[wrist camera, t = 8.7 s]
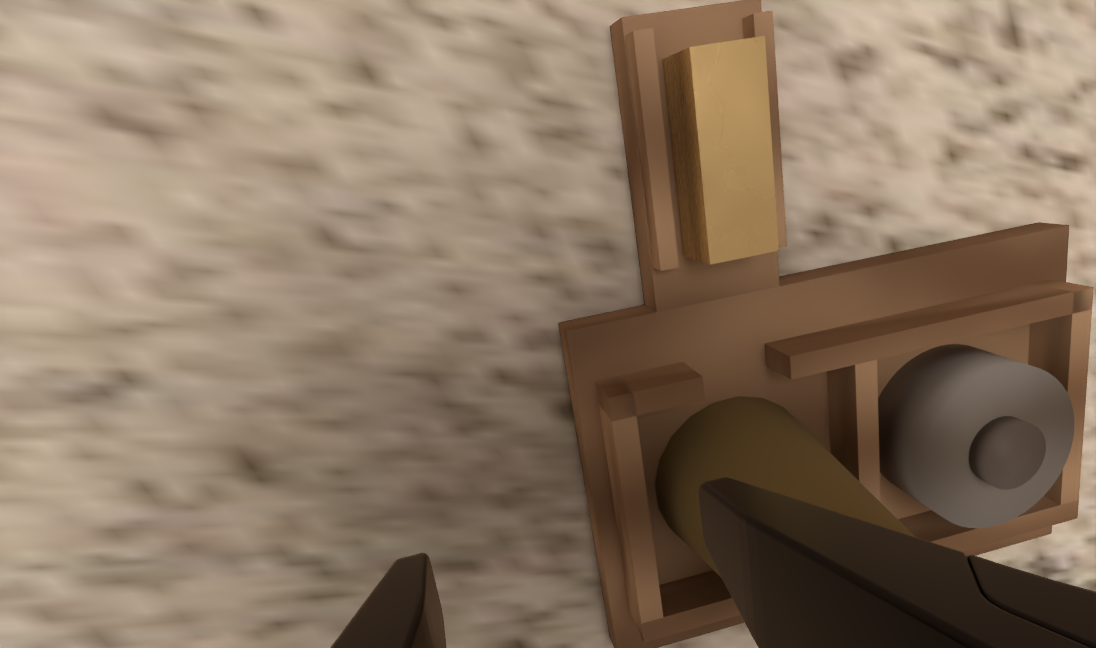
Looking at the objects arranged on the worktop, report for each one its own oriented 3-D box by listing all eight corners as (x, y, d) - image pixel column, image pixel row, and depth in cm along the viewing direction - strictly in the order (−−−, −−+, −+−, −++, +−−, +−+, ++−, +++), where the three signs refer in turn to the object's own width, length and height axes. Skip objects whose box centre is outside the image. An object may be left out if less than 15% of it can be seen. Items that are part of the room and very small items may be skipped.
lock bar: (746, 243, 21) (778, 250, 19) (683, 255, 21) (710, 264, 19) (731, 48, 19) (764, 35, 17) (662, 58, 19) (689, 46, 17)
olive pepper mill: (790, 370, 22) (1114, 545, 12) (825, 510, 24) (1135, 772, 14) (633, 436, 22) (829, 680, 11) (681, 575, 24) (889, 899, 13)
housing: (1025, 518, 28) (1132, 580, 24) (609, 636, 25) (647, 730, 21) (1050, -37, 22) (1198, -85, 18) (512, 40, 19) (537, 4, 15)
